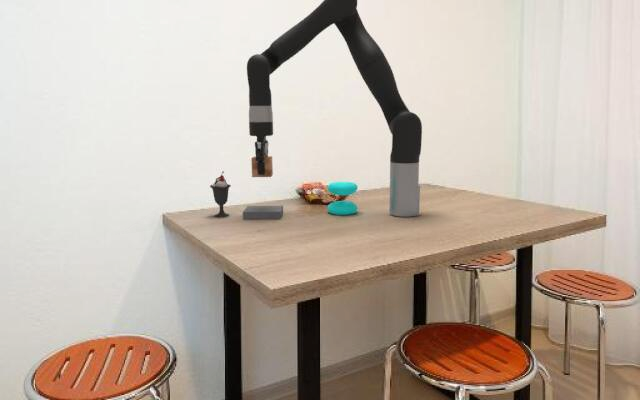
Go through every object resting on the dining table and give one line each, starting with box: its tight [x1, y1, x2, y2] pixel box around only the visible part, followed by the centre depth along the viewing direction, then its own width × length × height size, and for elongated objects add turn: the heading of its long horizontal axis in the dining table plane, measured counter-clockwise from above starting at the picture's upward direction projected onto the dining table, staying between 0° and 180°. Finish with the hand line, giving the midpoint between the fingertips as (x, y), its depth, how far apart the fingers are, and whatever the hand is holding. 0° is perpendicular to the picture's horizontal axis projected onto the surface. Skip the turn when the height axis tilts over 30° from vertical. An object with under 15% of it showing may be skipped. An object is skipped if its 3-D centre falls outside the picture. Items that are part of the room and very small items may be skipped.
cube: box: [251, 155, 274, 178], centre depth 156 cm, size 6×6×6 cm
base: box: [242, 205, 284, 221], centre depth 159 cm, size 12×10×3 cm
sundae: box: [209, 170, 231, 218], centre depth 159 cm, size 7×7×15 cm
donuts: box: [327, 181, 358, 216], centre depth 162 cm, size 10×10×10 cm
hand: (262, 173), depth 156 cm, fingers closed on cube, 6 cm apart
